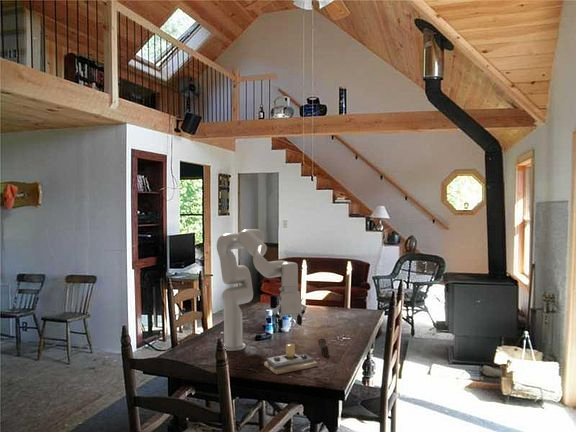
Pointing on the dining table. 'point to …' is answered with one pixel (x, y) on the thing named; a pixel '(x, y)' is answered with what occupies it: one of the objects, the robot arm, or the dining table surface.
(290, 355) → the brass pin
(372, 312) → the dining table surface
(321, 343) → the hand tool
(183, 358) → the dining table surface
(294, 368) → the birch board
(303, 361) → the grey slotted fixture board
